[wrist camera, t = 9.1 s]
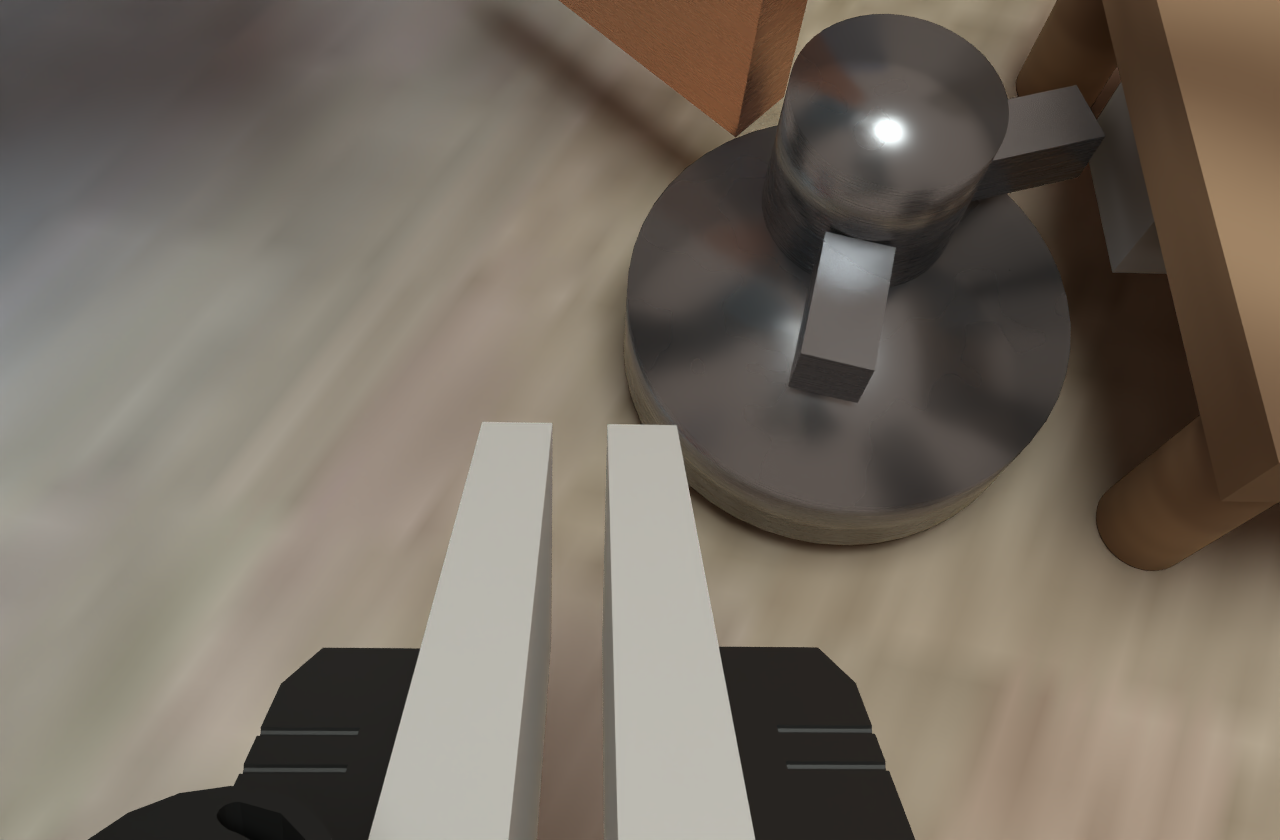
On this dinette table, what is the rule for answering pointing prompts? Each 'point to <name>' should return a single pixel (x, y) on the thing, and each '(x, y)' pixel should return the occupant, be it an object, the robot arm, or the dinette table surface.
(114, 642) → the dinette table surface
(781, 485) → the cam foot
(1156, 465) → the stand
